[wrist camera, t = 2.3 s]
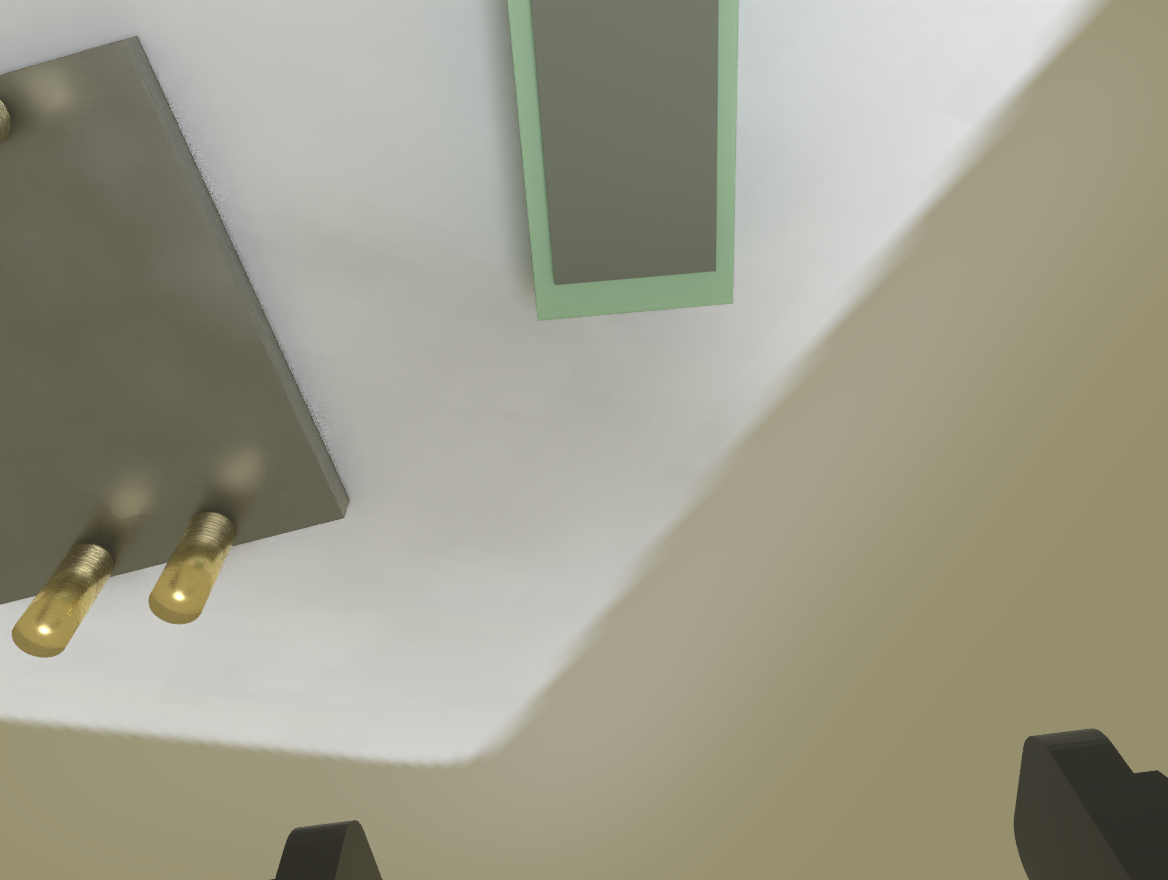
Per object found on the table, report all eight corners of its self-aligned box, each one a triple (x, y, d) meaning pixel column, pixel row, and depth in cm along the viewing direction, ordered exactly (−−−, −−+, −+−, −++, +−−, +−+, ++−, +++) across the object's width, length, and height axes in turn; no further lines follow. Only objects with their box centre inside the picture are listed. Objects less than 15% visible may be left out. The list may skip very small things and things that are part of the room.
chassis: (-315, 165, 22) (-488, 213, 18) (136, 36, 22) (55, 57, 18) (-1, 588, 29) (-80, 689, 25) (348, 500, 29) (323, 589, 25)
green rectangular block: (494, -137, 21) (493, -151, 18) (707, -152, 21) (745, -169, 18) (533, 275, 26) (538, 325, 22) (706, 260, 26) (735, 307, 23)
